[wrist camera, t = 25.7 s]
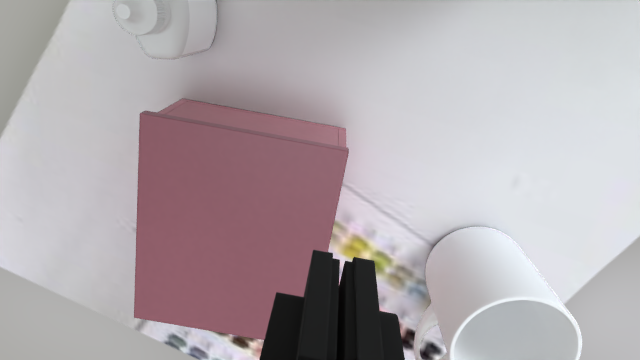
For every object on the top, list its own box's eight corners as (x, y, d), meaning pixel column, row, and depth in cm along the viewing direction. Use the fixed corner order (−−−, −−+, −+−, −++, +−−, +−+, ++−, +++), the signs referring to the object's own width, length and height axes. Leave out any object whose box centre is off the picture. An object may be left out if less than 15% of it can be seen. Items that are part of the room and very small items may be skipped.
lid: (144, 110, 29) (139, 113, 28) (348, 147, 29) (348, 151, 29) (137, 311, 35) (133, 317, 34) (308, 340, 35) (307, 348, 34)
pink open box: (182, 98, 36) (146, 118, 30) (345, 128, 36) (346, 154, 30) (170, 262, 42) (138, 310, 35) (313, 287, 42) (308, 340, 35)
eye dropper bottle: (238, -8, 33) (186, -17, 22) (205, 60, 35) (141, 83, 24) (184, -42, 33) (103, -69, 21) (153, 29, 34) (62, 38, 23)
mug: (374, 287, 42) (385, 376, 31) (480, 203, 38) (529, 272, 28) (436, 343, 43) (465, 444, 33) (542, 268, 40) (609, 354, 30)
